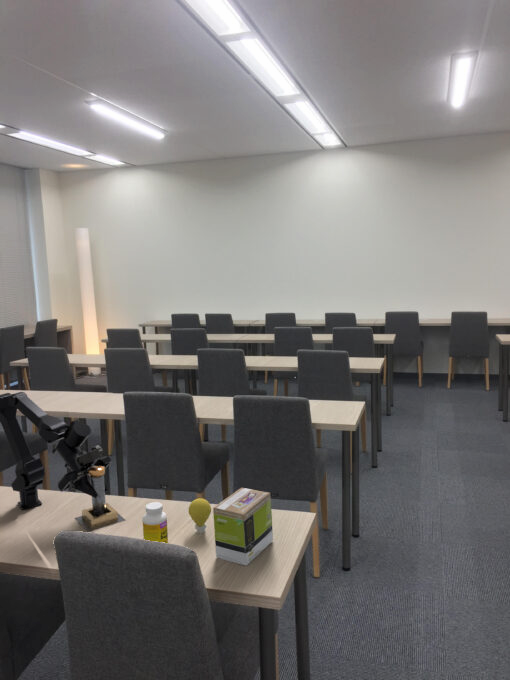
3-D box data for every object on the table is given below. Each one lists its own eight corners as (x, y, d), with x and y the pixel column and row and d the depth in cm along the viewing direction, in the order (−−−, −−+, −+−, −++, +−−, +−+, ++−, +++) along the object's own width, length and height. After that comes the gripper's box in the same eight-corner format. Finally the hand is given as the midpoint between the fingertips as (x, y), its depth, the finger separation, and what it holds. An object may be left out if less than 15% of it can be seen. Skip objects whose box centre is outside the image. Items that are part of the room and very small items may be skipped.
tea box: (243, 534, 161) (241, 485, 159) (273, 541, 156) (272, 492, 154) (214, 558, 148) (212, 506, 146) (246, 567, 143) (244, 513, 141)
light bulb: (202, 523, 168) (201, 492, 167) (216, 530, 163) (215, 498, 162) (185, 531, 163) (183, 499, 162) (199, 539, 159) (197, 506, 157)
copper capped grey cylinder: (89, 516, 172) (86, 468, 170) (104, 511, 175) (101, 464, 173) (95, 521, 168) (91, 472, 166) (110, 517, 171) (107, 469, 169)
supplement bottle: (163, 556, 150) (160, 511, 148) (140, 554, 151) (137, 510, 149) (171, 544, 156) (169, 501, 154) (149, 542, 158) (147, 499, 156)
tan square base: (74, 520, 173) (73, 510, 173) (111, 509, 180) (110, 499, 180) (88, 534, 163) (87, 524, 163) (126, 522, 170) (125, 512, 170)
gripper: (61, 449, 162) (93, 491, 158) (105, 431, 178) (134, 468, 175) (44, 471, 166) (74, 512, 163) (88, 451, 183) (116, 488, 179)
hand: (101, 494), depth 170 cm, fingers closed on copper capped grey cylinder, 4 cm apart
